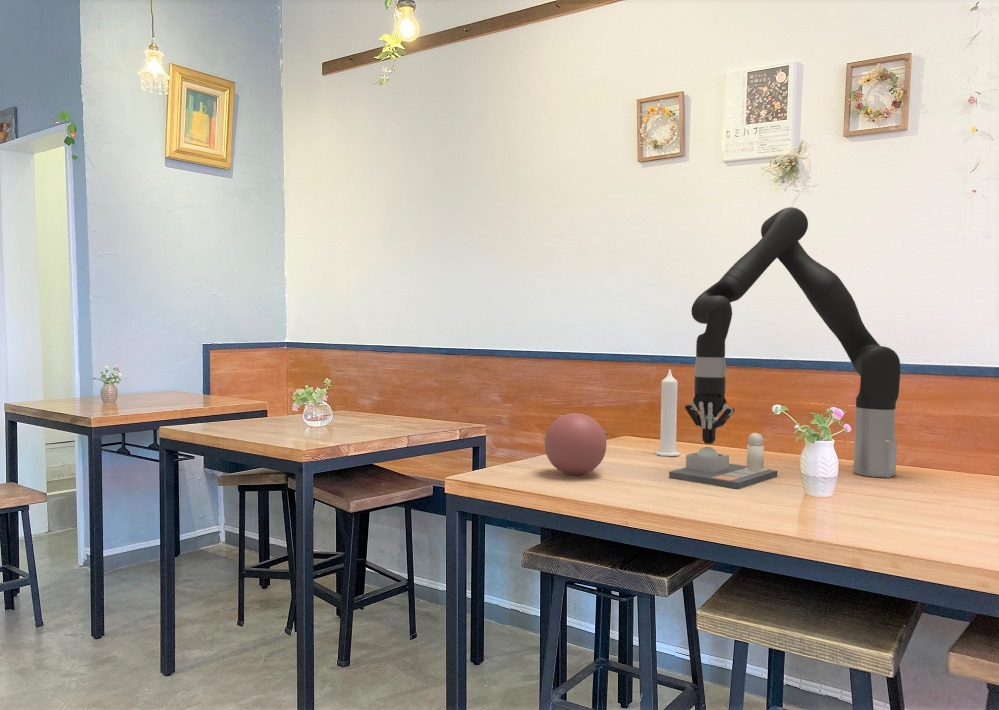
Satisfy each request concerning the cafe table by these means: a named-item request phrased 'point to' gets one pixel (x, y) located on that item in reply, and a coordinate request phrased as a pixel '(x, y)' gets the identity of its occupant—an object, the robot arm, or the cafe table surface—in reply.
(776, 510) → the cafe table surface
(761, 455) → the pawn
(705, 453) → the dome
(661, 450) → the candle
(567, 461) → the mauve rubber ball
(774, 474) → the game board
